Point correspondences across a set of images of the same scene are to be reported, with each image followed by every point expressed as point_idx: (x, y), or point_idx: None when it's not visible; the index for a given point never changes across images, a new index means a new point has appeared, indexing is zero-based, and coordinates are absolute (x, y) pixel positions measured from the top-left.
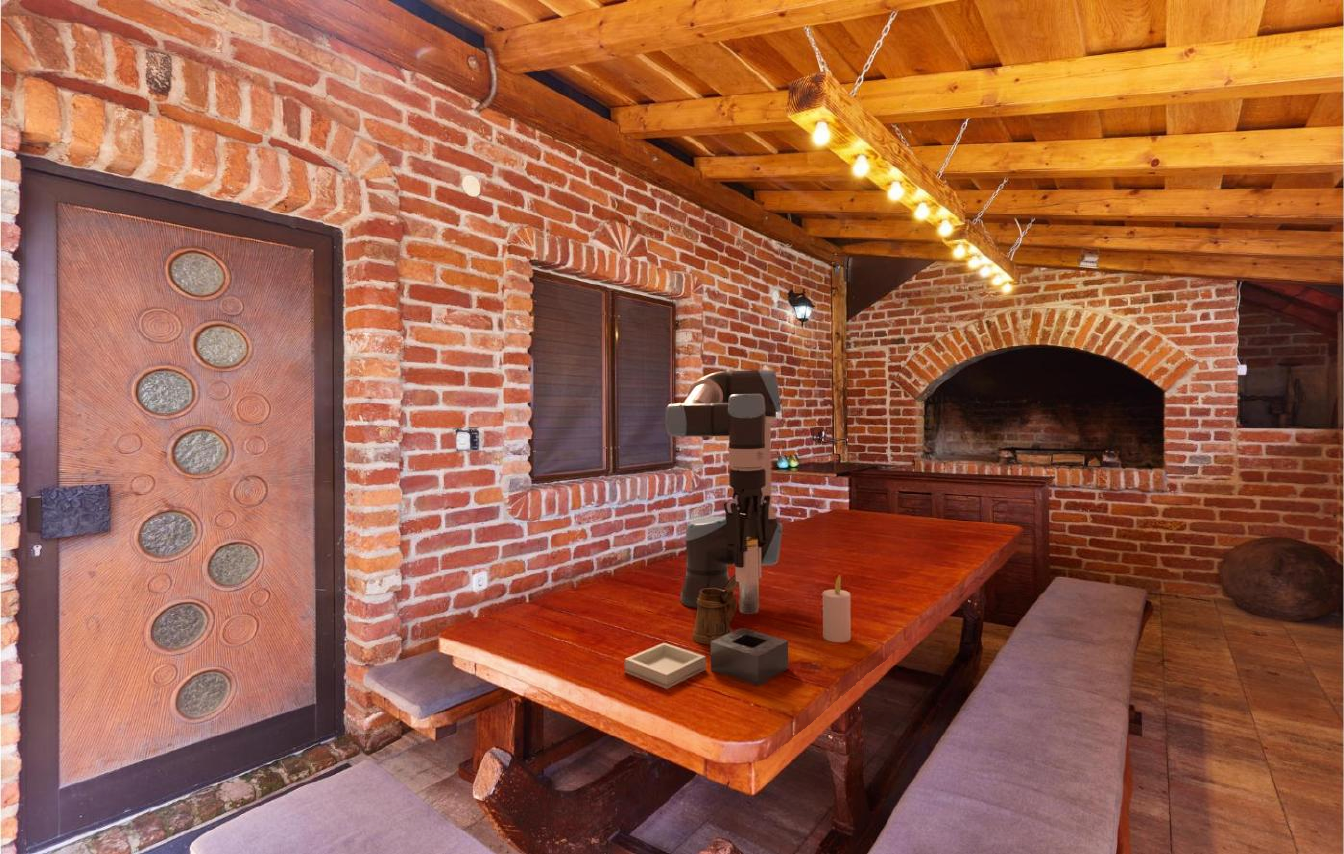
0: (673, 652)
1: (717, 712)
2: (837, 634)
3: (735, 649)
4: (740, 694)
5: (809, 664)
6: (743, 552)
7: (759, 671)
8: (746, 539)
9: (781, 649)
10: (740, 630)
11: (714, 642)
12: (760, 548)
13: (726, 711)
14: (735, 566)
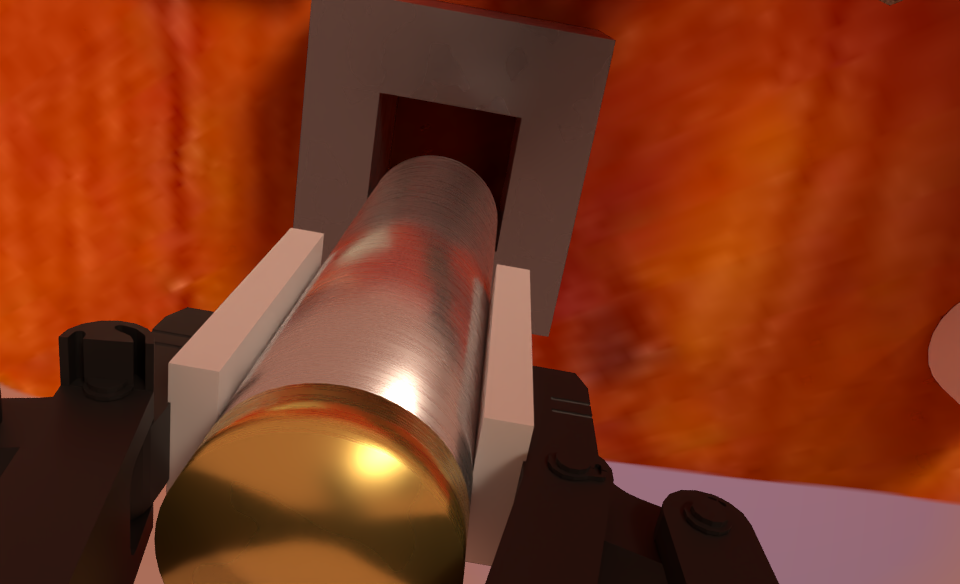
0: None
1: (44, 206)
2: (947, 382)
3: (299, 162)
4: (219, 215)
5: (626, 340)
6: (169, 474)
7: None
8: (266, 555)
9: None
10: (564, 57)
11: (316, 12)
12: (485, 555)
13: (73, 230)
14: (187, 310)
